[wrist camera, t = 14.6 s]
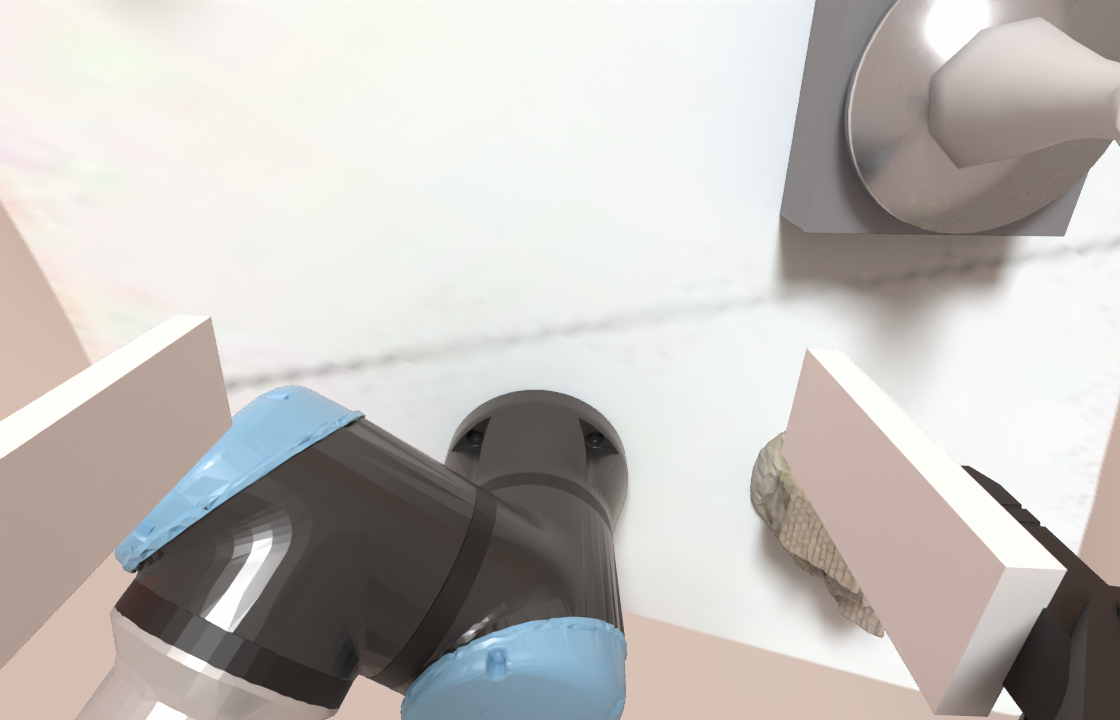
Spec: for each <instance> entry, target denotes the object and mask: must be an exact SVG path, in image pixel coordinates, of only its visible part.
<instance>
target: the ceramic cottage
mask: <svg viewBox="0 0 1120 720" xmlns="http://www.w3.org/2000/svg"><path fill="white" fill-rule="evenodd" d="M785 433H786V431H784V433H780V434H779V435H778V436H777V437H775V438H774V439H772V440H771V441H770V442H768V443H767V445H766V447H764V448H763V449H762V450H760V453H759V455H758V458H757V460H756V462H755V464H754V467H753V472H752V478H751V486H750V487H751V490H750V491H751V501H752V503H753V505H754V506H755V508H756V510H757V511H758V512H759V514H760V515H761V517H762V519H764V520H765V521H766V523H767V524H768V525H769V526H770V528H771V529H772V530H773V531H774V532H775V535H776V536H777V537H778V538H779V540H780V542H781V544H782V546H783V548H784V549H786V550H788V552H789V553H790V555H791V556H792V557H793V558H794V560H795V561H796V563H797V564H798V566H799V567H800V568H803V569H804V570H805V571H807V572H809V573H810V574H811V575H813V576H818V577H821V578H822V579H823V580H824V582H825V584H826V586H827V588H828V590H829V592H830V594H831V595H832V596H833V597H835V599H836V602H839V604H838V611H839V612H840V613H841V614H842V615H843V616H845V617H847V618H848V619H850V620H851V621H853V622H854V623H856V624H857V625H859V626H860V627H862V628H863V629H864V630H866V631H867V632H868V633H870V634H873V635H875V636H878V637H881V638H882V637H883V636H884V630H885V629H884V627H883V626H882V624H881V622H880V621H879V619H878V617H877V616H876V614H875V612H874V610H873V609H872V607H871V605H870V604H869V602H868V600H867V598H866V597H865V595H864V593H863V592H862V590H861V588H860V587H859V585H858V583H857V581H856V580H855V578H854V576H853V575H852V573H851V571H850V569H849V568H848V566H847V564H846V563H845V561H844V559H843V557H842V556H841V554H840V552H839V551H838V549H837V547H836V546H835V544H834V542H833V540H832V539H831V537H830V535H829V534H828V532H827V530H826V528H825V527H824V525H823V523H822V522H821V520H820V518H819V517H818V515H817V513H816V511H815V510H814V508H813V506H812V505H811V503H810V501H809V499H808V498H807V496H806V494H805V493H804V491H803V489H802V488H801V486H800V484H799V482H798V481H797V479H796V477H795V476H794V474H793V472H792V470H791V469H790V467H789V465H788V464H787V462H786V460H785V458H784V457H783V455H782V453H781V449H782V445H783V441H784V437H785Z"/></svg>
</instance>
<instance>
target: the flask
mask: <svg viewBox="0 0 1120 720" xmlns="http://www.w3.org/2000/svg"><path fill="white" fill-rule="evenodd" d="M929 134H930V135H931V136H932V138H933V139H934V140H935V141H936V143H937V144H938V145H939V146H940V147H941V149H942V150H943V151H944V152H945V154H946V155H947V156H948V157H949V158H950V160H951V161H952V162H953V163H954V165H955V166H956V167H957V168H958V169H961V168H966V167H971V166H976V165H981V164H986V163H991V162H996V161H1001V160H1006V159H1011V158H1015V157H1019V156H1022V155H1025V154H1028V153H1031V152H1034V151H1037V150H1040V149H1043V148H1046V147H1049V146H1052V145H1055V144H1059V143H1062V142H1066V141H1070V140H1076V139H1086V138H1102V139H1112V140H1116V142H1117V143H1118V145H1119V146H1120V63H1119V62H1115V61H1111V60H1107V59H1105V58H1104V57H1102V56H1100V55H1099V54H1097V53H1095V52H1093V51H1092V50H1090V49H1088V48H1087V47H1085V46H1083V45H1082V44H1080V43H1078V42H1077V41H1075V40H1073V39H1072V38H1070V37H1069V36H1068V35H1066V34H1065V33H1063V32H1062V31H1061V30H1059V29H1058V28H1056V27H1055V26H1053V25H1052V24H1051V23H1049V22H1048V21H1046V20H1044V19H1043V18H1041V17H1036V18H1031V19H1026V20H1022V21H1017V22H1013V23H1008V24H1003V25H999V26H994V27H990V28H985V29H980V30H979V31H978V32H977V33H976V34H975V35H974V36H973V37H972V38H971V39H970V40H969V41H968V42H967V43H966V44H965V45H964V46H963V47H961V48H960V49H959V50H958V51H957V52H956V53H955V54H954V55H953V56H952V57H951V58H950V59H949V60H948V61H947V62H946V63H945V64H944V65H943V66H942V67H941V68H939V69H938V70H937V71H936V72H935V73H934V74H933V75H932V79H931V98H930V116H929Z"/></svg>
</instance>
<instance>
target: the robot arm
mask: <svg viewBox="0 0 1120 720" xmlns="http://www.w3.org/2000/svg"><path fill="white" fill-rule="evenodd" d="M365 416H366V415H365V414H363V413H362V412H360V411H353V412H352V411H351V410H349V409H347V408H345V407H343V406H341V405H339V404H337V403H335V402H333V401H332V400H330V399H328V398H326V397H324V396H322V395H320V394H318V393H316V392H314V391H313V390H311V389H308V388H305V387H301V386H294V385H290V386H283V387H279V388H275V389H273V390H270V391H268V392H266V393H264V394H263V395H261V396H259V397H258V398H256V399H255V400H254V401H252V402H251V403H249V404H248V405H247V406H245V407H244V408H243V409H242V410H240V411H239V412H238V413H237V414H236V415H234V416H233V417H232V418H231V414H230V409H229V404H228V399H227V394H226V389H225V385H224V380H223V375H222V370H221V365H220V360H219V355H218V350H217V345H216V340H215V335H214V330H213V325H212V320H211V317H207V316H188V315H174V316H173V317H171V318H169V319H168V320H166V321H164V322H163V323H161V324H159V325H158V326H156V327H154V328H153V329H151V330H150V331H148V332H146V333H145V334H143V335H141V336H140V337H138V338H136V339H135V340H133V341H132V342H130V343H128V344H127V345H125V346H123V347H122V348H120V349H118V350H117V351H115V352H114V353H112V354H110V355H109V356H107V357H105V358H104V359H102V360H100V361H99V362H97V363H95V364H94V365H92V366H91V367H89V368H87V369H86V370H84V371H82V372H81V373H79V374H77V375H76V376H74V377H73V378H71V379H69V380H68V381H66V382H64V383H63V384H61V385H59V386H58V387H56V388H55V389H53V390H51V391H50V392H48V393H46V394H45V395H43V396H41V397H40V398H38V399H37V400H35V401H33V402H32V403H30V404H28V405H27V406H25V407H23V408H22V409H20V410H19V411H17V412H15V413H13V414H12V415H10V416H9V417H7V418H5V419H4V420H2V421H1V422H0V670H1V668H3V666H4V665H5V664H6V663H7V662H8V661H9V660H10V659H11V658H12V657H13V656H14V655H15V654H16V653H17V652H18V651H19V650H20V649H21V648H22V647H23V645H24V644H25V643H26V642H27V641H28V640H29V639H30V638H31V637H32V636H33V635H34V634H35V633H36V632H37V631H38V630H39V629H40V628H41V627H42V625H43V624H44V623H45V622H46V621H47V620H48V619H49V618H50V617H51V616H52V615H53V614H54V613H55V611H57V610H58V609H59V608H60V606H62V604H63V603H64V602H65V601H66V600H67V599H68V598H69V597H70V596H71V595H72V594H73V593H74V592H75V591H76V590H77V588H79V586H81V584H82V583H83V582H84V581H85V580H86V579H87V578H88V577H89V576H90V575H91V574H92V573H93V572H94V571H95V570H96V568H98V566H100V564H101V563H102V562H103V561H104V560H105V559H106V558H107V557H108V556H109V555H110V554H111V553H112V552H113V551H114V550H115V556H116V559H117V560H118V561H119V562H120V563H121V564H122V567H123V569H124V570H125V571H127V572H130V573H135V572H136V571H138V574H137V576H136V578H135V579H134V580H133V582H132V583H131V585H130V586H129V587H128V588H127V590H126V591H125V592H124V594H123V595H122V597H121V598H120V599H119V601H118V602H117V603H116V605H115V606H114V607H113V609H112V610H111V612H110V618H111V624H112V630H113V636H114V641H115V647H116V659H115V664H114V666H113V667H112V669H111V671H110V672H109V673H108V674H107V676H106V677H105V679H104V680H103V681H102V683H101V684H100V686H99V687H98V688H97V690H96V691H95V693H94V694H93V696H92V697H91V698H90V700H89V701H88V702H87V704H86V705H85V707H84V708H83V709H82V711H81V712H80V714H79V715H78V716H77V718H76V719H75V720H325V719H328V718H330V717H332V716H334V715H335V714H336V713H337V711H338V709H339V708H340V706H341V704H342V702H343V700H344V698H345V696H346V694H347V692H348V690H349V688H350V687H351V685H352V683H353V681H354V680H355V678H356V677H357V676H358V675H359V674H360V675H362V676H365V677H366V678H369V679H371V680H373V681H375V682H377V683H380V684H382V685H384V686H386V687H388V688H390V689H392V690H394V691H396V692H399V693H401V694H403V695H404V696H405V698H404V699H403V702H402V705H401V719H402V720H620V718H621V715H622V712H623V709H624V704H625V697H626V683H625V660H626V656H627V648H626V646H627V645H626V641H625V635H624V627H623V619H622V611H621V603H620V595H619V587H618V579H617V571H616V563H615V555H614V547H613V538H612V533H613V530H614V528H615V525H616V522H617V520H618V517H619V514H620V512H621V509H622V506H623V504H624V501H625V498H626V493H627V486H628V470H627V464H626V457H625V452H624V448H623V445H622V442H621V440H620V438H619V436H618V434H617V432H616V430H615V429H614V427H613V426H612V425H611V424H610V422H609V421H608V420H607V419H606V418H605V417H604V416H603V415H602V414H601V413H600V412H598V411H597V410H596V409H594V408H593V407H591V406H590V405H588V404H587V403H585V402H583V401H581V400H579V399H577V398H574V397H572V396H569V395H566V394H562V393H558V392H553V391H545V390H524V391H517V392H512V393H508V394H504V395H501V396H498V397H496V398H493V399H491V400H489V401H487V402H485V403H484V404H482V405H481V406H479V407H478V408H476V409H475V410H474V411H472V412H471V413H470V414H469V415H468V416H467V417H466V418H465V419H464V420H463V422H462V423H461V424H460V425H459V427H458V428H457V430H456V432H455V434H454V436H453V438H452V441H451V443H450V447H449V450H448V453H447V456H446V460H445V465H443V464H441V463H439V462H438V461H436V460H434V459H433V458H431V457H429V456H427V455H426V454H424V453H422V452H421V451H419V450H417V449H416V448H414V447H412V446H411V445H409V444H407V443H405V442H404V441H402V440H400V439H399V438H397V437H395V436H394V435H392V434H390V433H389V432H387V431H385V430H383V429H382V428H380V427H378V426H377V425H375V424H373V423H372V422H370V421H368V420H367V419H365ZM781 453H782V455H783V457H784V458H785V460H786V462H787V464H788V465H789V467H790V469H791V470H792V472H793V474H794V476H795V477H796V479H797V481H798V482H799V484H800V486H801V488H802V489H803V491H804V493H805V494H806V496H807V498H808V499H809V501H810V503H811V505H812V506H813V508H814V510H815V511H816V513H817V515H818V517H819V518H820V520H821V522H822V523H823V525H824V527H825V528H826V530H827V532H828V534H829V535H830V537H831V539H832V540H833V542H834V544H835V546H836V547H837V549H838V551H839V552H840V554H841V556H842V557H843V559H844V561H845V563H846V564H847V566H848V568H849V569H850V571H851V573H852V575H853V576H854V578H855V580H856V581H857V583H858V585H859V587H860V588H861V590H862V592H863V593H864V595H865V597H866V598H867V600H868V602H869V604H870V605H871V607H872V609H873V610H874V612H875V614H876V616H877V617H878V619H879V621H880V622H881V624H882V626H883V627H884V629H885V631H886V633H887V634H888V636H889V638H890V639H891V641H892V643H893V645H894V646H895V648H896V650H897V651H898V653H899V655H900V656H901V658H902V660H903V662H904V663H905V665H906V667H907V668H908V670H909V672H910V674H911V675H912V677H913V679H914V680H915V682H916V684H917V686H918V687H919V689H920V691H921V692H922V694H923V696H924V697H925V699H926V701H927V703H928V704H929V706H930V708H931V709H932V711H933V713H934V714H935V715H959V716H984V717H987V716H988V715H989V713H990V711H991V709H992V708H993V706H994V704H995V702H996V700H997V698H998V697H999V695H1000V693H1001V691H1002V689H1003V687H1005V689H1006V690H1007V691H1008V693H1009V694H1010V695H1011V697H1012V698H1013V700H1014V701H1015V702H1016V704H1017V705H1018V706H1019V708H1020V709H1021V711H1022V712H1023V713H1022V715H1021V716H1020V718H1019V720H1120V587H1116V586H1109V585H1107V584H1106V583H1105V582H1104V581H1103V580H1102V579H1101V578H1100V577H1099V576H1098V575H1097V574H1095V572H1093V571H1092V570H1091V569H1090V568H1089V567H1088V566H1087V565H1086V564H1085V563H1084V562H1083V561H1082V560H1080V559H1079V558H1078V557H1077V556H1076V555H1075V554H1074V553H1073V552H1072V551H1071V550H1070V549H1069V548H1068V547H1066V546H1065V545H1064V544H1063V543H1062V542H1061V541H1060V540H1059V539H1058V538H1057V537H1056V536H1055V535H1054V534H1052V533H1051V532H1050V531H1049V530H1048V529H1047V528H1046V527H1041V526H1040V521H1038V520H1037V519H1036V518H1035V517H1034V516H1033V515H1032V514H1031V513H1030V512H1029V511H1028V510H1027V509H1022V507H1021V506H1022V505H1021V504H1020V503H1019V502H1018V501H1017V500H1016V499H1015V498H1014V497H1013V496H1011V495H1010V494H1009V493H1008V492H1007V491H1006V490H1005V489H1004V488H1003V487H1002V486H1001V485H1000V484H998V483H996V482H995V481H993V480H991V479H990V478H988V477H986V476H985V475H983V474H981V473H980V472H978V471H976V470H975V469H973V468H971V467H970V466H960V465H959V464H958V463H957V462H956V461H955V460H954V459H953V458H952V457H951V456H950V455H949V454H948V453H947V452H945V451H944V450H943V449H942V448H941V447H940V446H939V445H938V444H937V443H936V442H935V441H934V440H933V439H932V438H931V437H930V436H929V435H928V434H927V433H926V432H925V431H924V430H923V429H922V428H921V427H920V426H919V425H918V424H917V423H916V422H915V421H914V420H913V419H912V418H911V417H909V416H908V415H907V414H906V413H905V412H904V411H903V410H902V409H901V408H900V407H899V406H898V405H897V404H896V403H895V402H894V401H893V400H892V399H891V398H890V397H889V396H888V395H887V394H886V393H885V392H884V391H883V390H882V389H881V388H880V387H879V386H878V385H877V384H876V383H874V382H873V381H872V380H871V379H870V378H869V377H868V376H867V375H866V374H865V373H864V372H863V371H862V370H861V369H860V368H859V367H858V366H857V365H856V364H855V363H854V362H853V361H852V360H851V359H850V358H849V357H848V356H847V355H846V354H845V353H844V352H843V351H842V350H835V349H816V348H807V349H806V353H805V357H804V361H803V365H802V369H801V373H800V377H799V381H798V385H797V389H796V393H795V397H794V401H793V405H792V409H791V413H790V417H789V421H788V425H787V429H786V433H785V437H784V441H783V445H782V449H781Z"/></svg>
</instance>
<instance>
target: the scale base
mask: <svg viewBox="0 0 1120 720" xmlns="http://www.w3.org/2000/svg"><path fill="white" fill-rule="evenodd" d="M892 1H893V0H816V3H815V9H814V15H813V21H812V27H811V33H810V39H809V45H808V51H807V57H806V63H805V69H804V75H803V81H802V87H801V93H800V99H799V105H798V110H797V116H796V122H795V128H794V134H793V140H792V146H791V152H790V158H789V164H788V170H787V176H786V182H785V188H784V194H783V200H782V206H781V212H780V216H781V217H783V218H784V219H786V220H787V221H789V222H790V223H792V224H793V225H795V226H796V227H798V228H799V229H801V230H802V231H804V232H805V233H860V234H931V235H1002V236H1064V235H1065V233H1066V230H1067V227H1068V225H1069V222H1070V219H1071V217H1072V214H1073V211H1074V209H1075V206H1076V203H1077V201H1078V198H1079V195H1080V193H1081V190H1082V187H1083V185H1084V182H1085V179H1086V177H1087V174H1088V171H1087V172H1086V173H1085V174H1084V175H1083V176H1082V177H1081V178H1080V179H1079V180H1078V181H1077V182H1076V183H1075V184H1074V185H1073V186H1072V187H1070V188H1069V189H1068V190H1067V191H1065V192H1064V193H1063V194H1062V195H1060V196H1059V197H1058V198H1056V199H1055V200H1053V201H1052V202H1050V203H1049V204H1047V205H1046V206H1044V207H1043V208H1041V209H1039V210H1037V211H1035V212H1034V213H1032V214H1030V215H1028V216H1026V217H1024V218H1022V219H1019V220H1017V221H1014V222H1012V223H1010V224H1007V225H1004V226H1001V227H997V228H994V229H990V230H985V231H980V232H974V233H959V234H951V233H939V232H934V231H930V230H925V229H921V228H919V227H916V226H914V225H911V224H909V223H906V222H904V221H902V220H899V219H898V218H896V217H894V216H893V215H891V214H889V213H887V212H886V211H885V210H884V209H882V208H881V207H880V206H879V205H877V204H876V203H875V202H874V201H873V200H872V198H871V197H870V196H869V195H868V194H867V193H866V192H865V190H864V188H863V187H862V185H861V184H860V182H859V181H858V179H857V177H856V175H855V172H854V170H853V168H852V165H851V162H850V159H849V155H848V151H847V147H846V138H845V106H846V99H847V92H848V88H849V84H850V81H851V77H852V73H853V70H854V67H855V65H856V62H857V60H858V57H859V54H860V52H861V50H862V48H863V46H864V44H865V42H866V40H867V38H868V36H869V34H870V32H871V31H872V29H873V28H874V26H875V25H876V23H877V22H878V20H879V18H880V17H881V15H882V14H883V13H884V11H885V10H886V9H887V8H888V6H889V5H890V4H891V3H892Z"/></svg>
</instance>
